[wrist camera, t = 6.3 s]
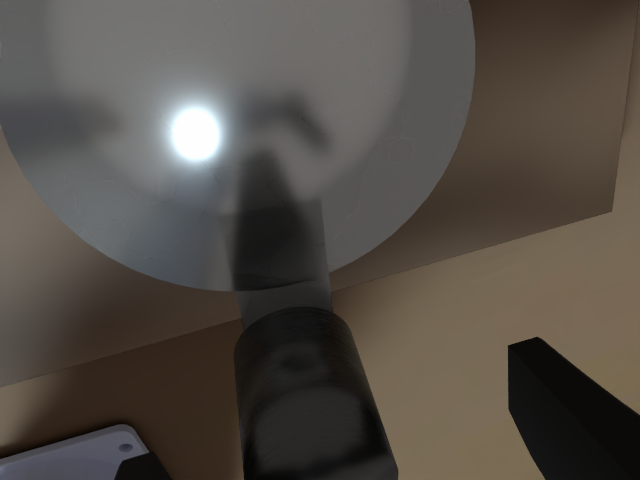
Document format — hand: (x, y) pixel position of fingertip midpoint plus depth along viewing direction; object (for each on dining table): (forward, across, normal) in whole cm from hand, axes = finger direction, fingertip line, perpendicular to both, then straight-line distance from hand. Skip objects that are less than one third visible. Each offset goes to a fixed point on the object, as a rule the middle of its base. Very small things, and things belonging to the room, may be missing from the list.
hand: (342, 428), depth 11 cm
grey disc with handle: (+5, 0, -4) cm, 6 cm away
